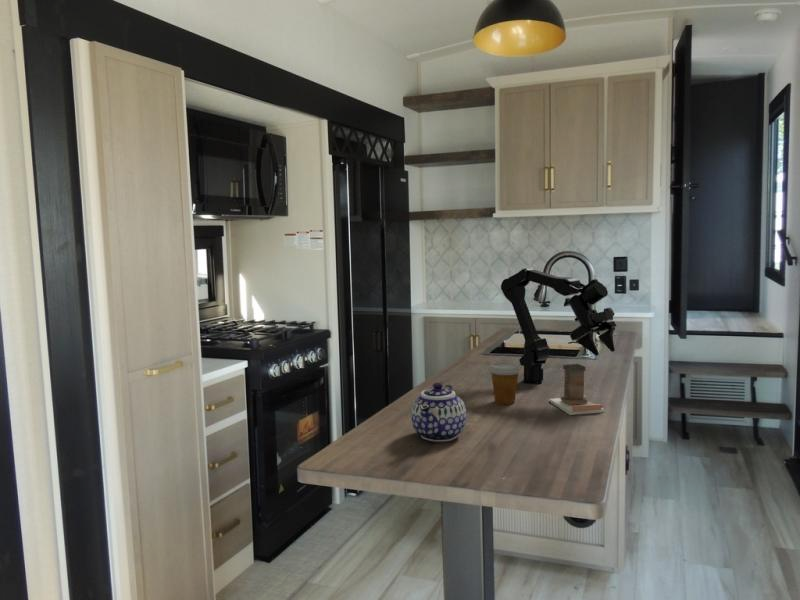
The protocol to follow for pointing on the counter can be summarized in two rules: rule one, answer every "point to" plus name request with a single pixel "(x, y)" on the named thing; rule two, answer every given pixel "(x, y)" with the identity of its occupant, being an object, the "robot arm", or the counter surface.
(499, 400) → the disposable coffee cup
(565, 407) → the thin white base plate
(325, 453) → the counter surface
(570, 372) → the brown wooden pedestal
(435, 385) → the teapot
